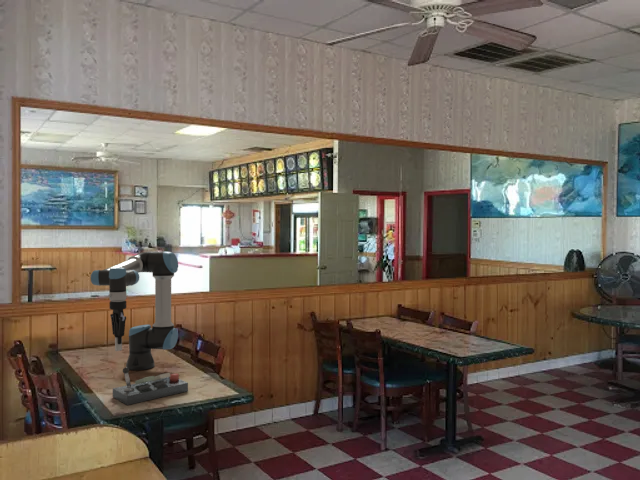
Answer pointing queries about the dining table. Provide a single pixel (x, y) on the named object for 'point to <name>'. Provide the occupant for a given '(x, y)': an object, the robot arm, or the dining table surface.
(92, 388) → the dining table surface
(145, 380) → the white flat block
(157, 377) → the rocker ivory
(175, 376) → the button
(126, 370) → the lever
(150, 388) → the panel
